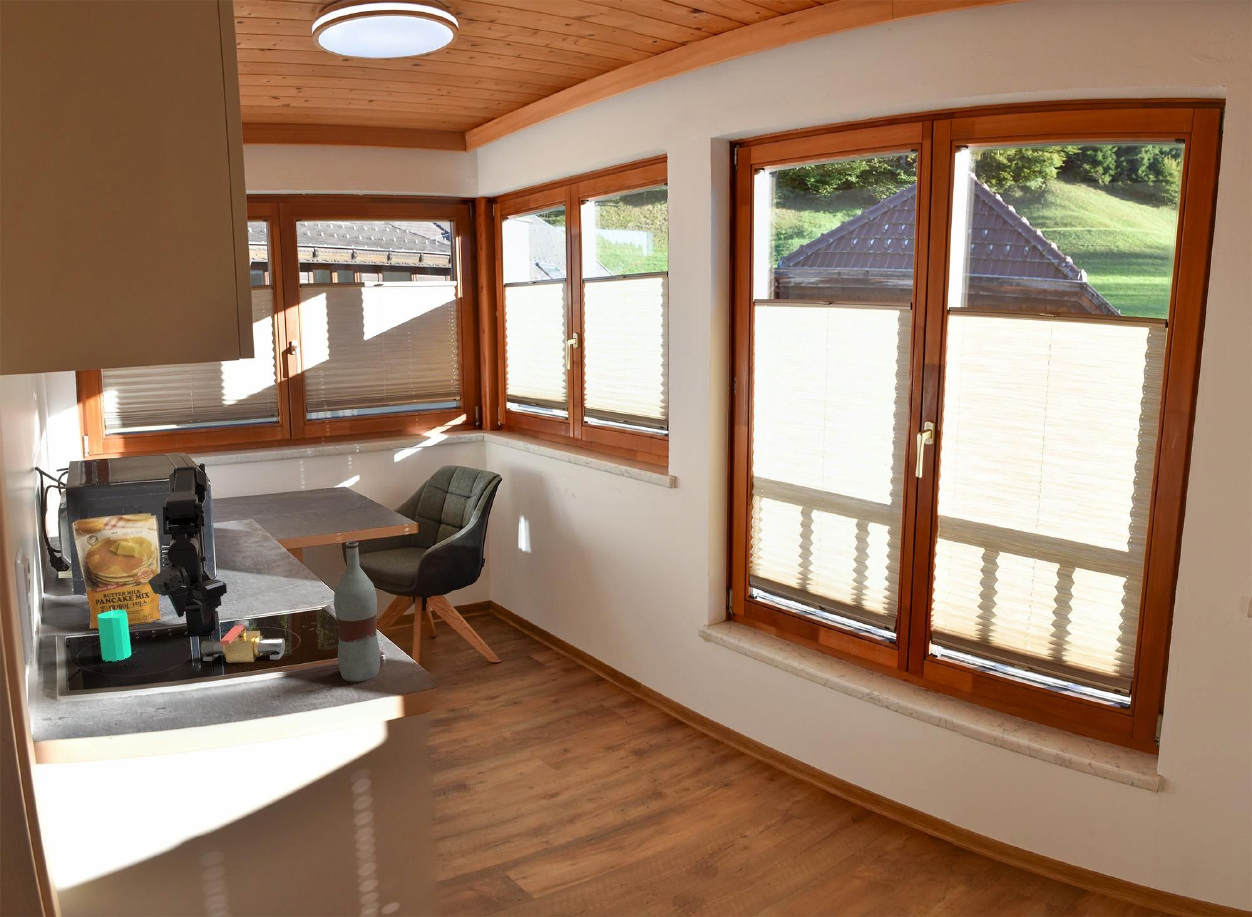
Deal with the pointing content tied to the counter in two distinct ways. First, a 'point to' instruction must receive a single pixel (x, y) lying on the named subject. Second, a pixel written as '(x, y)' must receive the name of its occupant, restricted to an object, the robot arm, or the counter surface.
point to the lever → (235, 631)
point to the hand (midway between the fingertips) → (193, 620)
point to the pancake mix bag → (120, 565)
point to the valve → (244, 648)
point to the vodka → (356, 621)
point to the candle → (114, 635)
